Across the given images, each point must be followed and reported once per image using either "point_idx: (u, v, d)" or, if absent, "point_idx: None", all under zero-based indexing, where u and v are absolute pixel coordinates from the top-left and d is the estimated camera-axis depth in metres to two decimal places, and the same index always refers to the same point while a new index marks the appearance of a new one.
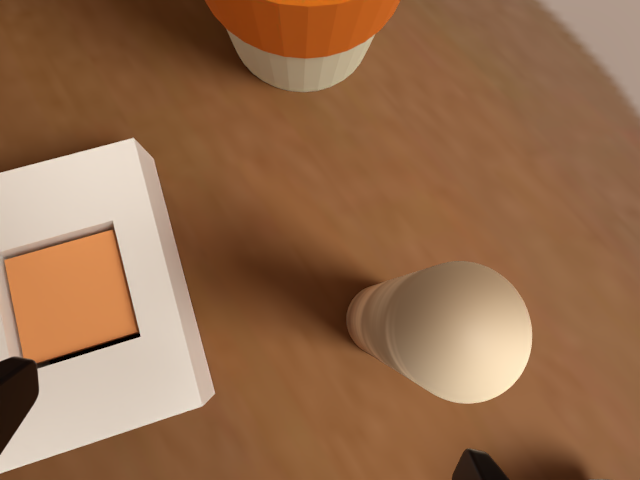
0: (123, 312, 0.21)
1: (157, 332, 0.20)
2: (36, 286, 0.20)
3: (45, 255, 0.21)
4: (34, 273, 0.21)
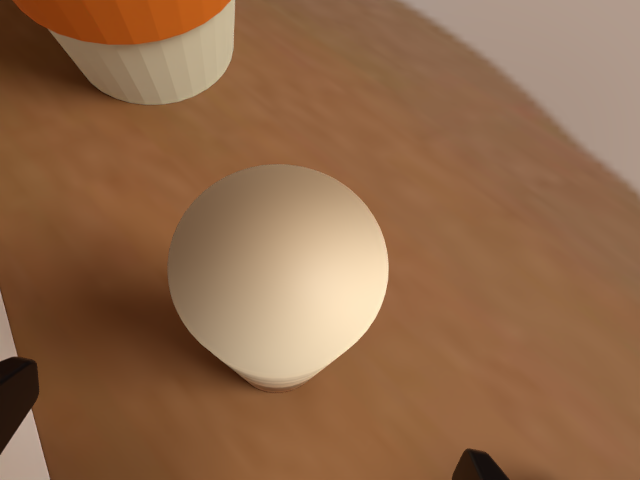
0: None
1: None
2: None
3: None
4: None
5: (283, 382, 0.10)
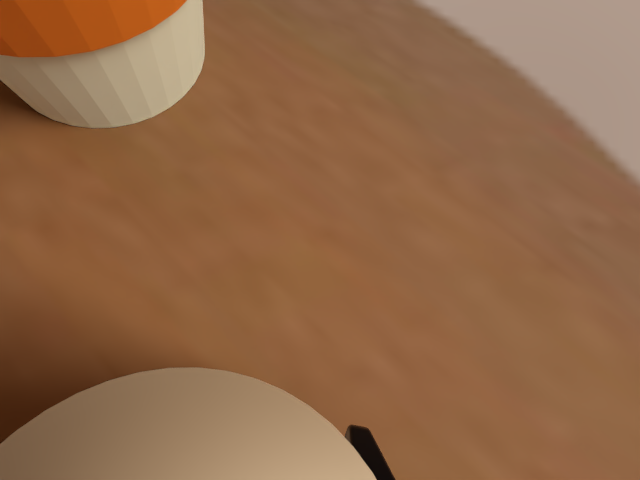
0: None
1: None
2: None
3: None
4: None
5: None
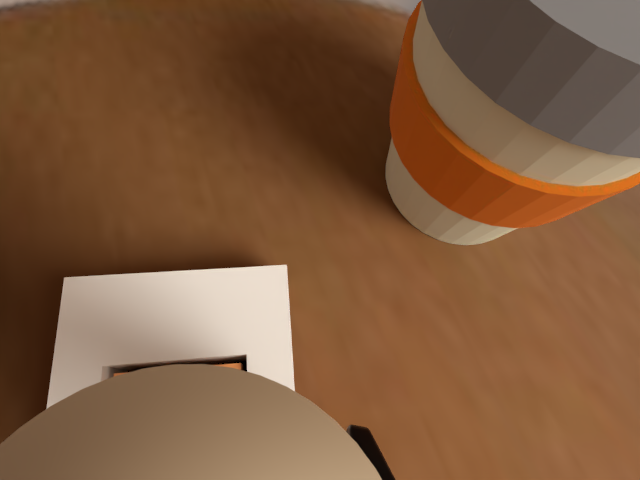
0: None
1: None
2: None
3: None
4: None
5: None
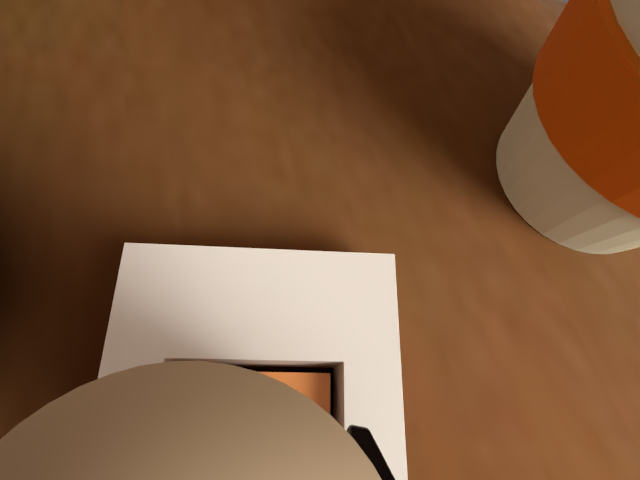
0: None
1: None
2: None
3: None
4: None
5: None
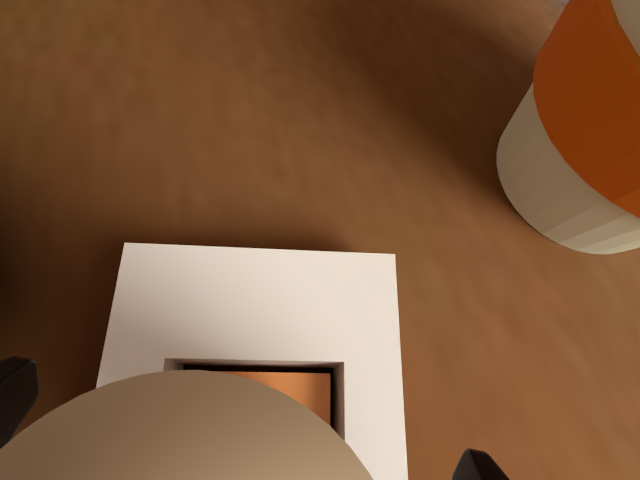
0: None
1: None
2: None
3: None
4: None
5: None
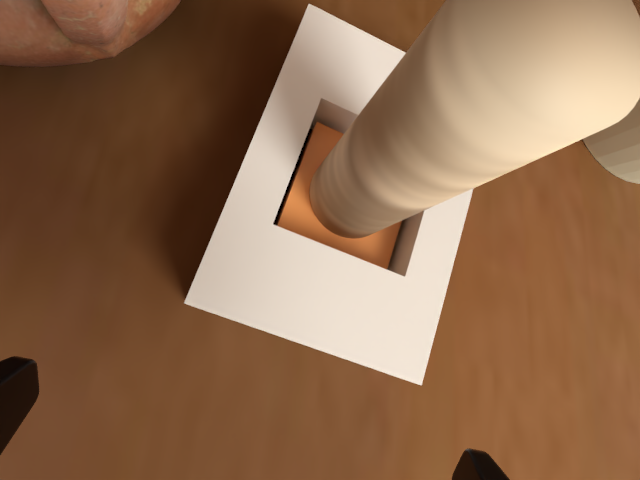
0: (385, 244, 0.19)
1: (421, 284, 0.18)
2: None
3: None
4: None
5: (449, 178, 0.10)
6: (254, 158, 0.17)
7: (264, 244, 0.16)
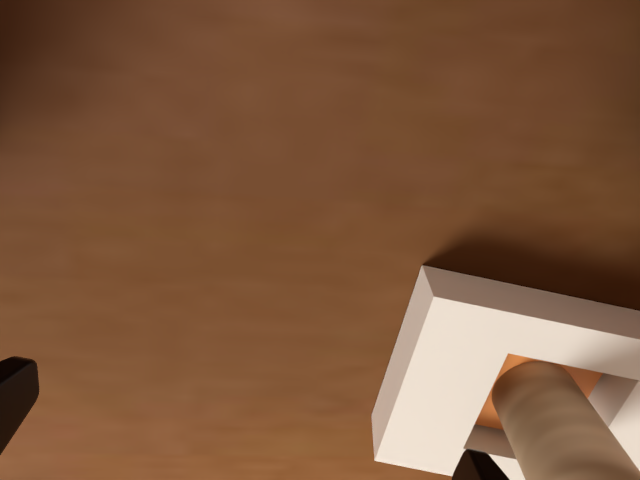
0: (486, 420, 0.22)
1: (456, 459, 0.21)
2: None
3: (584, 391, 0.21)
4: (575, 377, 0.20)
5: None
6: (573, 333, 0.18)
7: (488, 348, 0.18)
